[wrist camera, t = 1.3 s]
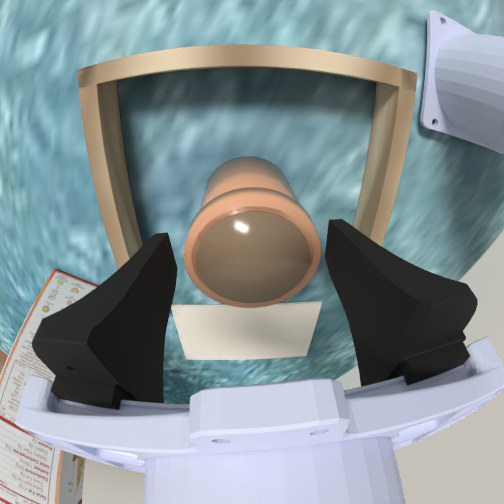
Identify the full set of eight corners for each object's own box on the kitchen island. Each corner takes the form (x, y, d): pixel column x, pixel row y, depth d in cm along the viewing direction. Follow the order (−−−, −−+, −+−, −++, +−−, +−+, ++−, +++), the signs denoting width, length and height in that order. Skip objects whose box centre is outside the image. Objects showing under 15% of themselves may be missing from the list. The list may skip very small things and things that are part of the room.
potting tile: (321, 301, 22) (322, 302, 22) (306, 354, 26) (306, 355, 26) (171, 304, 21) (170, 306, 21) (186, 357, 26) (186, 359, 26)
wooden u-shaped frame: (392, 70, 11) (417, 73, 9) (348, 286, 21) (358, 309, 19) (100, 67, 11) (77, 69, 9) (143, 290, 20) (135, 315, 18)
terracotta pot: (298, 152, 15) (332, 201, 10) (290, 236, 18) (310, 307, 13) (196, 152, 14) (174, 202, 9) (203, 237, 18) (192, 311, 13)
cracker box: (108, 365, 27) (82, 528, 11) (63, 347, 25) (26, 505, 9) (117, 289, 20) (63, 557, 3) (54, 264, 18) (-32, 507, 1)
